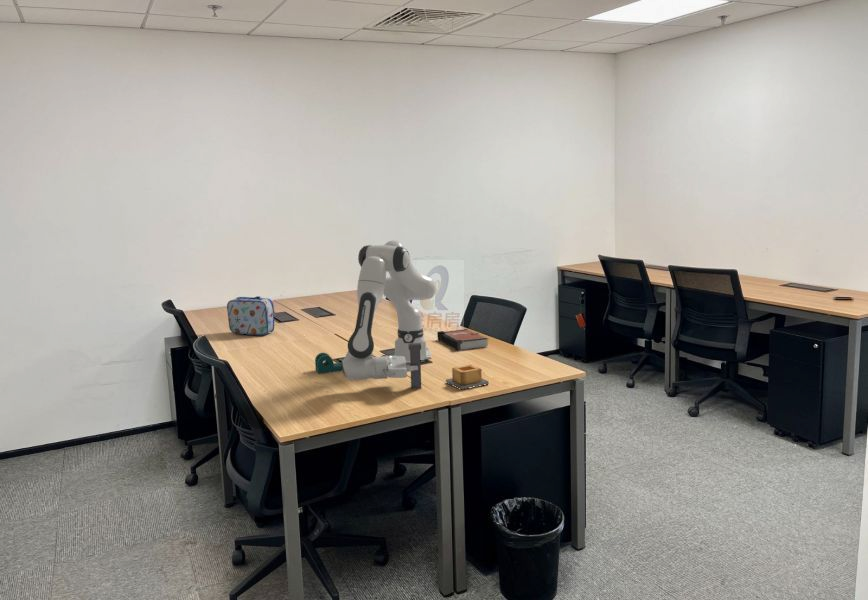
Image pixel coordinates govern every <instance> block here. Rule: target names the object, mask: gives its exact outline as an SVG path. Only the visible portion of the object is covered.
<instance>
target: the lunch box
mask: <svg viewBox="0 0 868 600" xmlns="http://www.w3.org/2000/svg"><path fill="white" fill-rule="evenodd" d="M274 306H275V305H274V302H273V301H272V299H270V298H269V297H261V296H260V295H259V296H255V297H251V296H250V297H249V296H238V297H236V298H234V299H231V300H229V301H227V304H226V309H227V319H228V326H229V327H228V328H229V330H230V331H231V333H233V334H236V333H237V334H236V335H243V334H246V336H264V335H267V333H268V334H270V333H269V332H271V333H273V332H274V329H275V314H276V313H277V312H276V309H275V307H274Z"/></svg>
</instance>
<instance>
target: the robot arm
mask: <svg viewBox="0 0 868 600" xmlns="http://www.w3.org/2000/svg"><path fill="white" fill-rule="evenodd" d="M357 258H358V259H357V260H358V265H359V266H360V267H361V268H360V271H359V275H358V280H357V281H358V282H357V290H356V291H357V293H356V294H357V304H358V306H357V307H358V311H357V316H356V317H357V318H356V322H355V327H354V328H355V329H354V331H353V332H352V334H351V336H350V337H349V339H348V341H347V352H346V355H345V357H343V360H342V361H341V362H342V369H343V371H342V372H343V376H344V377H345V378H346V379H348V380H352V381H353V380H354V381H365V380H369V379H371V380H372V379H374V380H384V379H388V378H390V379H391V378H392V379H402V378H403V379H404V378H407V377H408V372H409V373H411V371H413V370H418V365H413V366H410V350H409V349H408V344H411V343H421V350H420V360H421V361H424V360H430V359H432V354H431V350H430V349H429V348H428V347H427V341H426V339H425V336H424V328H423V320H422V319H423V318H422V316H423V315H422V312H421V310H420V309H419V308H417V307H416V306H414V305H412V303H411V301H424V300H428V299H432V298H433V297H434V296H435V294H436V291H437V284H436V282H435V281H434V279H433V278H432V277H429V276H427V275H425V274H423V273H422V272H420V271H419V270H418V269H416V268H415V266H414V265H413V262H412V260H411V259H410V253H409V251H408V250H407V248H405V247H404V245H403V244H402V243H401V242H400V241H398V240H389V241H387V242H386V243H385V244H380V245H379V244H377V245H372V244H369V245H363V247H361V249H359V253H358V257H357ZM387 273H388V274H389V276H387ZM383 296H384V297H385V298H387V299H388V300H389V301H390V303H392V305H393V307H394V308H395V311H396V316H397V325H398V327H397V339H395V340H394V354H392V355H387V354H382V355H380V356H373V353H374V350H375V346H374V345H375V344H374V343H375V342H374V339H373V336H372V335H373V334H372V330H373V322H374V316H375V312H376V309H377V307H378V305H379V304H380V303H381V301H382V298H383Z"/></svg>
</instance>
